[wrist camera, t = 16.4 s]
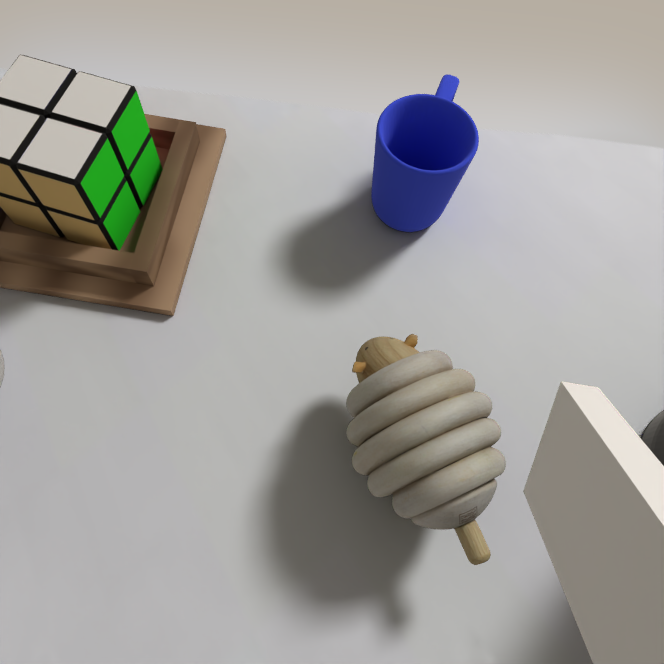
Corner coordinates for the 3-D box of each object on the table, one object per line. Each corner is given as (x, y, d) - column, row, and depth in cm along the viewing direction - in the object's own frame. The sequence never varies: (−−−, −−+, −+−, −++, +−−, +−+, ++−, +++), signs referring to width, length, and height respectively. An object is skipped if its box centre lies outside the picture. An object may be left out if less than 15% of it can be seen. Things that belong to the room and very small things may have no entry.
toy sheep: (411, 340, 48) (442, 278, 38) (524, 522, 43) (596, 508, 32) (301, 393, 46) (303, 343, 35) (407, 594, 40) (446, 603, 30)
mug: (468, 160, 56) (502, 80, 47) (433, 255, 51) (463, 187, 42) (391, 133, 57) (410, 50, 48) (350, 225, 52) (362, 152, 43)
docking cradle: (226, 136, 55) (222, 109, 52) (173, 315, 48) (164, 297, 44) (28, 103, 55) (12, 75, 52) (-57, 277, 48) (-83, 256, 44)
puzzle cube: (66, 140, 53) (17, 50, 44) (165, 169, 52) (137, 83, 43) (12, 224, 49) (-54, 145, 40) (118, 256, 48) (77, 183, 39)
